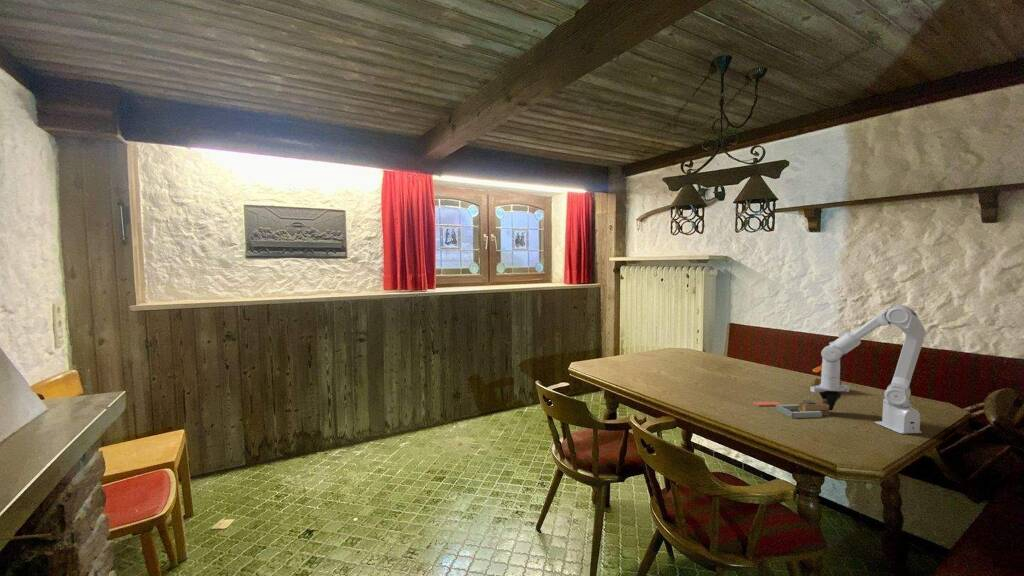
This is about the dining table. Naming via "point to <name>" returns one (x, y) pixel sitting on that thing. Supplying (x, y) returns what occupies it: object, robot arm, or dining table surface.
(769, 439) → the dining table surface
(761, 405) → the wing plank
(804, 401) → the fuselage block
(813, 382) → the orange handled valve
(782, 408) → the cradle jig
